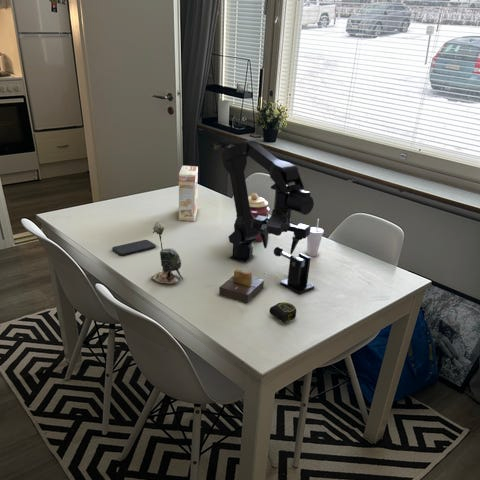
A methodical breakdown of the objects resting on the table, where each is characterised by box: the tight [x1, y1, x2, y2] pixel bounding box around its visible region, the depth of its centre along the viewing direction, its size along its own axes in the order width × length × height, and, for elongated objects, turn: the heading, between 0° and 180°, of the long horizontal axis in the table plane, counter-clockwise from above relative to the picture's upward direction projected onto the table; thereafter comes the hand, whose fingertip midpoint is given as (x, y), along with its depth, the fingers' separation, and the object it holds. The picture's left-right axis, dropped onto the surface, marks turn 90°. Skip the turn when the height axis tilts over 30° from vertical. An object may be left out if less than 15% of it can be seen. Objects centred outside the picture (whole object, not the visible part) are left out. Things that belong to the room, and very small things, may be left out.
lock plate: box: [218, 275, 265, 304], centre depth 163 cm, size 12×10×3 cm
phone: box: [111, 239, 157, 256], centre depth 188 cm, size 7×1×15 cm
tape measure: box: [269, 301, 297, 324], centre depth 149 cm, size 7×7×4 cm
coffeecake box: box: [178, 165, 199, 222], centre depth 218 cm, size 15×7×20 cm, turn 179°
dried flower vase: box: [150, 222, 184, 285], centre depth 162 cm, size 8×11×20 cm
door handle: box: [273, 246, 306, 267], centre depth 167 cm, size 13×3×3 cm, turn 40°
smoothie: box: [306, 218, 325, 257], centre depth 189 cm, size 6×6×14 cm
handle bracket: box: [279, 252, 315, 296], centre depth 166 cm, size 9×7×11 cm
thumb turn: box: [233, 268, 253, 286], centre depth 161 cm, size 6×2×4 cm, turn 64°
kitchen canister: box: [236, 192, 271, 243], centre depth 200 cm, size 13×13×18 cm
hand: (278, 250), depth 170 cm, fingers open, 9 cm apart
